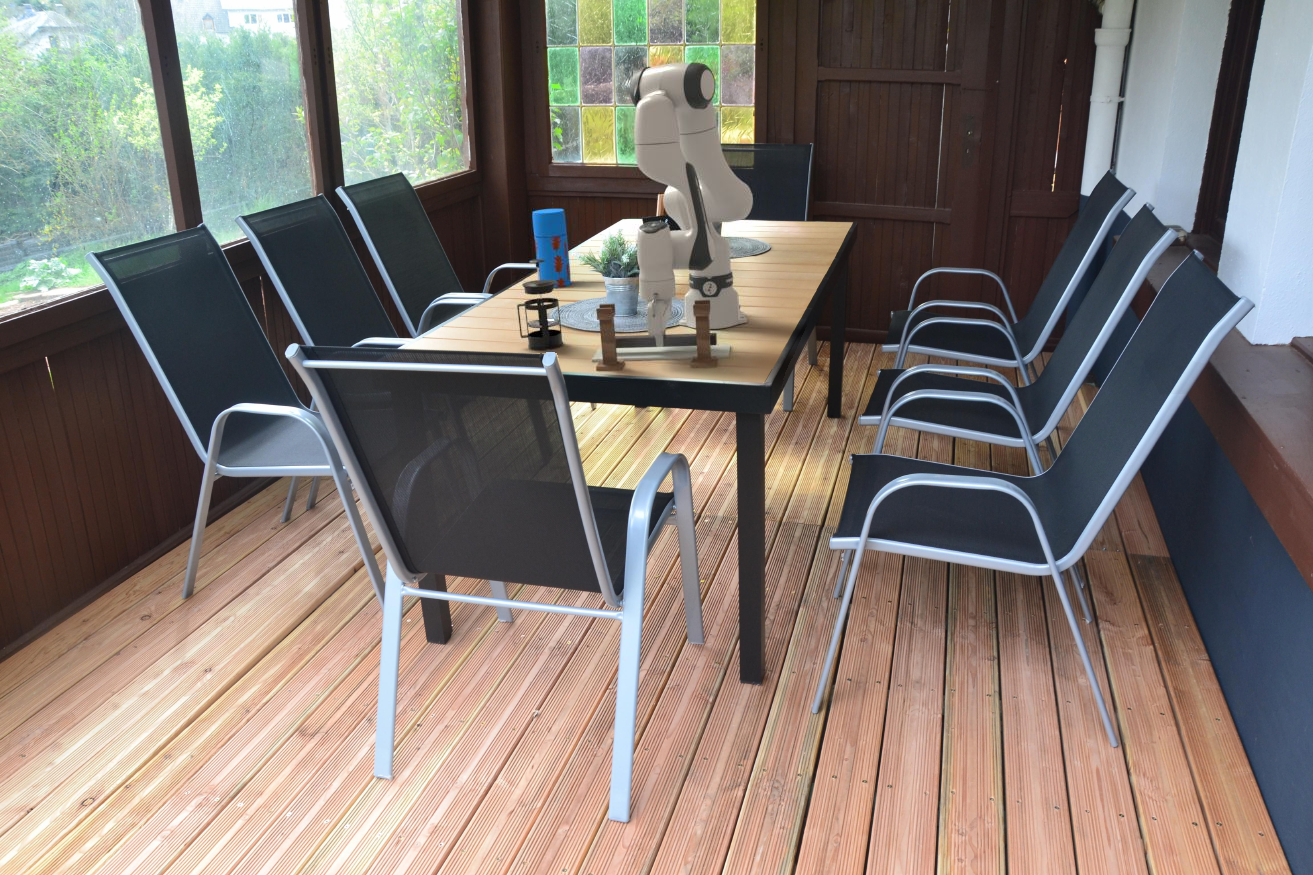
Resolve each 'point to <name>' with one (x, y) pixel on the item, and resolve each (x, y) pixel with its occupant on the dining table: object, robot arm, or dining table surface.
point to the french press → (541, 314)
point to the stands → (612, 363)
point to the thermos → (552, 246)
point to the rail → (669, 340)
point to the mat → (663, 353)
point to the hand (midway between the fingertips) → (661, 344)
